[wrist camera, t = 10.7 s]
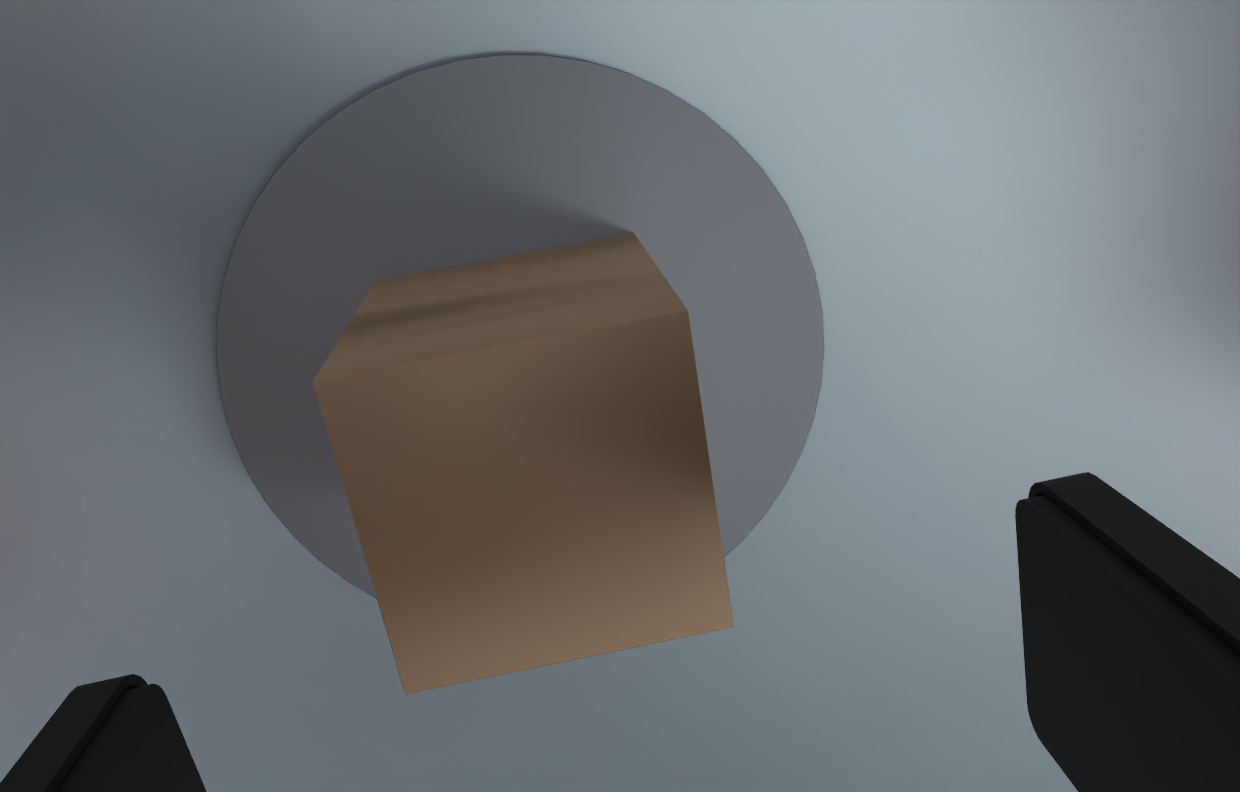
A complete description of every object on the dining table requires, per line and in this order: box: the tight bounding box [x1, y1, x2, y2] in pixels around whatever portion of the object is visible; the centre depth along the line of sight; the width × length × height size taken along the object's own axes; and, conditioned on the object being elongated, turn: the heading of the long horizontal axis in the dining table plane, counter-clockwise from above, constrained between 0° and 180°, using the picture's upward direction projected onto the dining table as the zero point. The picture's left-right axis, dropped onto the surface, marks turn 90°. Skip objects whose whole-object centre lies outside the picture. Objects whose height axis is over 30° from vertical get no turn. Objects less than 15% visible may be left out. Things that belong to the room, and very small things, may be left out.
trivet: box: [217, 55, 824, 598], centre depth 19 cm, size 12×12×1 cm
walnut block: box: [313, 233, 733, 694], centre depth 16 cm, size 5×5×6 cm
